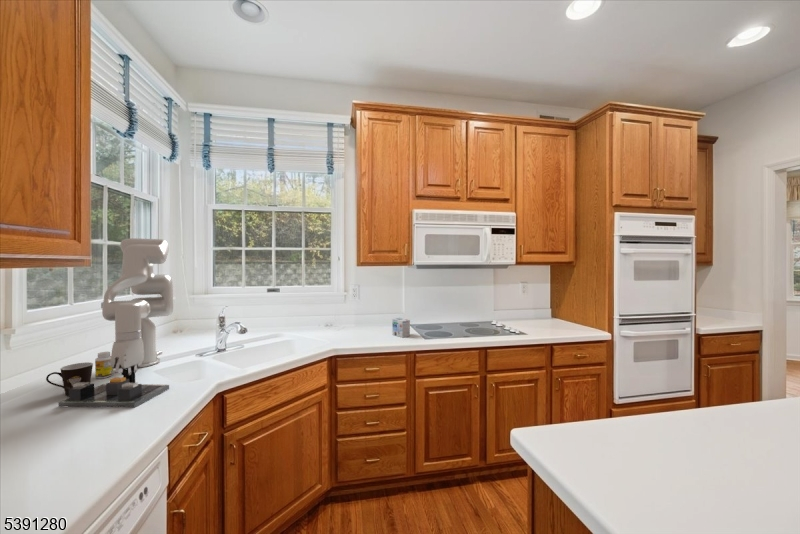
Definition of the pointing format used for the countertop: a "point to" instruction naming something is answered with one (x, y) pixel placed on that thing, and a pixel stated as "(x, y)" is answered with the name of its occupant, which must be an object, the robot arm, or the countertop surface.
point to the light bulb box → (401, 327)
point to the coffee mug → (73, 375)
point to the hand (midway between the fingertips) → (129, 384)
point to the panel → (96, 397)
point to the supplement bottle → (103, 365)
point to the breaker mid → (115, 385)
